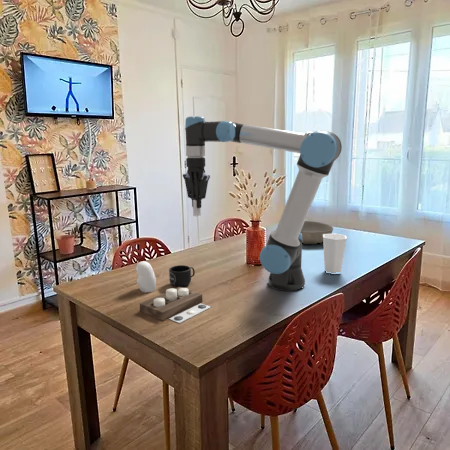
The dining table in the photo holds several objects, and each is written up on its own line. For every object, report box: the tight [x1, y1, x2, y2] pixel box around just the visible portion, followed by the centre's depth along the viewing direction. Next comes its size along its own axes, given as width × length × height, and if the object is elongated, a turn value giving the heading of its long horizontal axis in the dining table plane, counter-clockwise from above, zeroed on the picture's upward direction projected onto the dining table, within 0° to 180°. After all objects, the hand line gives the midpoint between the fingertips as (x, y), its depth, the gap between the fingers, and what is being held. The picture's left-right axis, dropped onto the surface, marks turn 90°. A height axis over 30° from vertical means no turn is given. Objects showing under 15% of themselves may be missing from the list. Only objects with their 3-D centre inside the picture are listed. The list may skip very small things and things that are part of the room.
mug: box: [168, 264, 196, 288], centre depth 165 cm, size 12×9×7 cm
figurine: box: [135, 260, 157, 293], centre depth 158 cm, size 7×8×12 cm
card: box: [168, 302, 212, 324], centre depth 138 cm, size 5×16×1 cm, turn 141°
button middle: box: [165, 287, 177, 302], centre depth 143 cm, size 4×4×4 cm
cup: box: [322, 232, 348, 273], centre depth 177 cm, size 11×10×17 cm
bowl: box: [300, 220, 334, 245], centre depth 231 cm, size 28×28×10 cm
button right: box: [178, 287, 190, 297], centre depth 148 cm, size 4×4×4 cm
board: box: [139, 287, 203, 321], centre depth 143 cm, size 12×20×3 cm, turn 141°
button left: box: [154, 298, 165, 308], centre depth 139 cm, size 4×4×4 cm
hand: (196, 215), depth 160 cm, fingers closed
